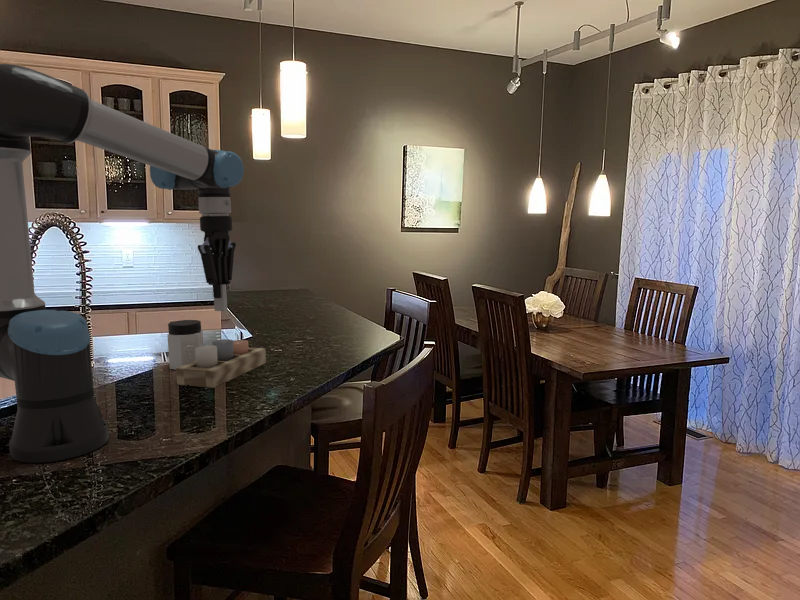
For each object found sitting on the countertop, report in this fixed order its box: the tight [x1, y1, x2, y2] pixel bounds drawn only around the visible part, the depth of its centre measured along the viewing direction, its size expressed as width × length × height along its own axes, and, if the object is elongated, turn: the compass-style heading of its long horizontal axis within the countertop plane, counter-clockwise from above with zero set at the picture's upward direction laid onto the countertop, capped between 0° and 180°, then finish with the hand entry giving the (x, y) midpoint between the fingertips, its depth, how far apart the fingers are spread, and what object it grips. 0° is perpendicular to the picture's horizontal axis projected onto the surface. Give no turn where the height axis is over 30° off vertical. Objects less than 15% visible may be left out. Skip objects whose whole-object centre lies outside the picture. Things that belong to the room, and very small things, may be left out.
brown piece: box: [233, 339, 249, 355], centre depth 159 cm, size 5×5×5 cm
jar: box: [167, 319, 204, 371], centre depth 159 cm, size 9×8×12 cm
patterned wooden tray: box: [175, 346, 267, 389], centre depth 153 cm, size 24×10×4 cm, turn 163°
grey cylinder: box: [211, 338, 234, 361], centre depth 152 cm, size 5×5×5 cm
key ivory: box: [195, 344, 218, 368], centre depth 146 cm, size 5×5×5 cm
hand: (221, 310), depth 151 cm, fingers closed
